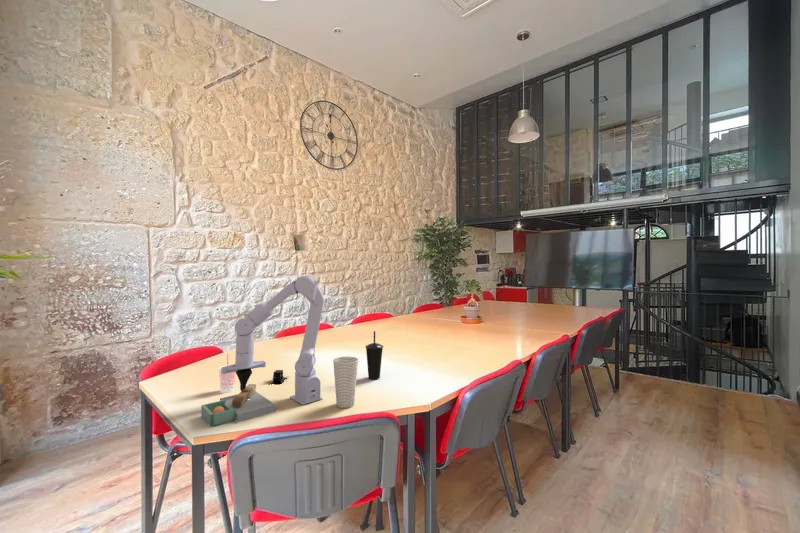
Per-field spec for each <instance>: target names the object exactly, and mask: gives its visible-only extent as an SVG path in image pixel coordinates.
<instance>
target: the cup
mask: <svg viewBox="0 0 800 533" xmlns="http://www.w3.org/2000/svg"><path fill="white" fill-rule="evenodd" d="M358 362H359V358H357V357H355V356H340V357H339V356H338V357H335V358H334V359H333V375H334V387H335V388H334V389H335V400H336V401H335V402H336V406H337V408H339V409H340V408H341V409H347V408H351V407H353V406H354V405H355V400H356V398H355V397H356V390H357V389H356V386H357V377H358V366H359V365H358V364H359V363H358Z"/></svg>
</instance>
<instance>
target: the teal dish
mask: <svg viewBox="0 0 800 533" xmlns="http://www.w3.org/2000/svg"><path fill="white" fill-rule="evenodd" d="M218 406H221V407H223V408H224V409H225V411H223V412H219V413H215V414H213V413H212V411H213V410H214V408H216V407H218ZM200 410H201V414H200V415H201V418H202V419H203V420H204V421H205V422H206V423H207V425H208V426H209V427H210V428H213V427H216V426H221V425H224V424H227V423H231V422H234V421H236V408H234V409H231V408H230V407H229V406H228V405H227V404H226V400H221V401H220V400H218V401H214V402H210V403H209V402H208V403H205V404H201V409H200Z"/></svg>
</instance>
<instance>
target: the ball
mask: <svg viewBox="0 0 800 533" xmlns="http://www.w3.org/2000/svg"><path fill="white" fill-rule="evenodd" d="M223 411H225V409H224V408H223V407H221V406H218V407H216V408H214V410H213V411H212V413H213V414H215V413H219V412H223Z"/></svg>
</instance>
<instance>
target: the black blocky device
mask: <svg viewBox="0 0 800 533" xmlns="http://www.w3.org/2000/svg"><path fill="white" fill-rule="evenodd" d="M283 370H284V369H276V370H274V372H273V375H272V380H271V381H270V382H269V383H268V384H267V385H268V386H269V385H270V384H271V385H270V386H272V384H274V385H277V386H279V385H280V384H282V383H283V384H284V383H285V381H286V380H287V379H286V377H285V376H284V371H283ZM285 379H286V380H285ZM284 380H285V381H284ZM283 384H282V385H283ZM274 385H273V386H274Z"/></svg>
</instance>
